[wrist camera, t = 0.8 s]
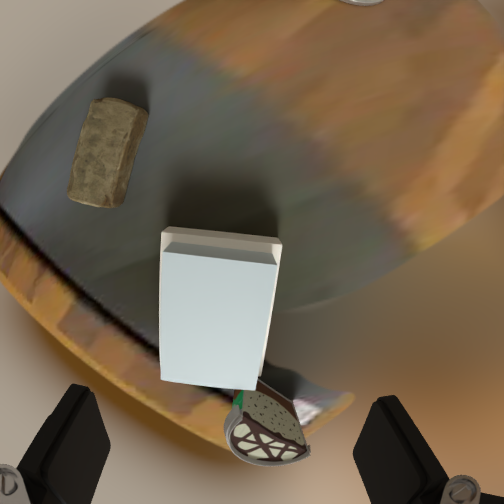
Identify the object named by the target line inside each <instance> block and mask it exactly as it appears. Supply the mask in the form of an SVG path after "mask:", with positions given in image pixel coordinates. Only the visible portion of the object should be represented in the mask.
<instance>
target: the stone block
mask: <svg viewBox="0 0 504 504" xmlns="http://www.w3.org/2000/svg"><path fill="white" fill-rule="evenodd" d="M147 120H148V113H147V112H146V111H145V110H144V109H143V108H142V107H138V106H136V105H134V104H132V103H130V102H127V101H124V100H121V99H118V98H101V99H96V100H95V99H94V100H93V101H92V102H91V104H90V109H89V113H88V115H87V118H86V120H85V121H84V123H83V127H82V130H81V134H80V138H79V141H78V144H77V148H76V151H75V155H74V159H73V163H72V168H71V174H70V179H69V184H68V187H67V195H68V197H69V198H70V199H71V200H73V201H76V202H80V203H83V204H87V205H92V206H96V207H105V208H114V207H119V206H120V205H121V204H122V203H123V202H124V198H125V194H126V190H127V186H128V182H129V178H130V174H131V171H132V167H133V163H134V158H135V156H136V154H137V150H138V147H139V144H140V141H141V139H142V137H143V134H144V131H145V128H146V124H147Z"/></svg>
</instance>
